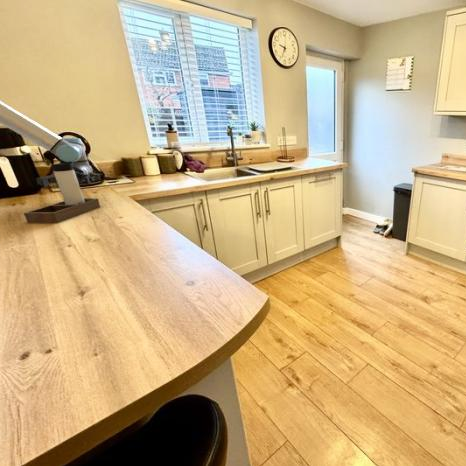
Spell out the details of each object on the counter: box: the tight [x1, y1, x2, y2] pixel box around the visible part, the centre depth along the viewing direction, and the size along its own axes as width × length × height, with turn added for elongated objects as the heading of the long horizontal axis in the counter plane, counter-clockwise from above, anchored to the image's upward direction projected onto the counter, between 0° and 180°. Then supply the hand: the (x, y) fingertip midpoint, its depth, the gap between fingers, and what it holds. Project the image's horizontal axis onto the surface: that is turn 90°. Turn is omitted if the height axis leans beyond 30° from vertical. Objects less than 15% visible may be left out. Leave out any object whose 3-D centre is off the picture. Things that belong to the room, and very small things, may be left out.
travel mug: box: [51, 161, 85, 205], centre depth 121 cm, size 6×7×20 cm
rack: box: [23, 197, 101, 224], centre depth 119 cm, size 11×21×4 cm, turn 2°
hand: (65, 182), depth 118 cm, fingers open, 13 cm apart
